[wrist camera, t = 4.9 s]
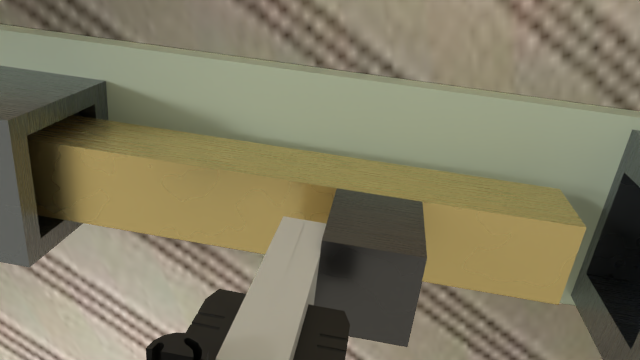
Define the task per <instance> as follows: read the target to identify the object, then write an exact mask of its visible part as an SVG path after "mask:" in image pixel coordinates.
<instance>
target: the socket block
mask: <svg viewBox="0 0 640 360" xmlns="http://www.w3.org/2000/svg"><path fill="white" fill-rule="evenodd" d="M571 297H572V299H573V301H574V303H575V305H576V307H577V309H578V311H579V313H580V315H581V317H582V319H583V321H584V323H585V325H586V327H587V329H588V331H589V333H590V335H591V337H592V339H593V341H594V343H595V345H596V347H597V349H598V351H599V353H600V355H601V357H602V359H603V360H640V131H639V130H632V131H631V134H630V137H629V140H628V142H627V145H626V148H625V150H624V153H623V156H622V158H621V161H620V164H619V166H618V169H617V172H616V175H615V177H614V180H613V183H612V185H611V188H610V191H609V193H608V196H607V199H606V202H605V204H604V207H603V210H602V212H601V215H600V218H599V220H598V223H597V226H596V229H595V231H594V234H593V237H592V239H591V242H590V245H589V247H588V250H587V253H586V256H585V258H584V261H583V264H582V266H581V269H580V272H579V274H578V277H577V280H576V283H575V285H574V288H573V291H572V293H571Z"/></svg>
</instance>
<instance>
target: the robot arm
mask: <svg viewBox="0 0 640 360" xmlns="http://www.w3.org/2000/svg"><path fill="white" fill-rule="evenodd" d="M325 227H326V223H320V222H314V221H308V220H302V219H297V218H291V217H285V216H283V218H282V220H281V222H280V225H279V227H278V229H277V231H276V233H275V235H274V237H273V239H272V241H271V243H270V246H269V248H268V250H267V252H266V254H265V256H264V258H263V260H262V262H261V264H260V267H259V269H258V271H257V273H256V275H255V277H254V279H253V281H252V283H251V285H250V288H249V290H248V292H247V294H243V293H238V292H233V291H227V290H222V289H219V290H218V291H216V292H215V293H213V294H212V295H211V296H209V297H208V298H206V299H205V301H204V303H203V305H202V306H201V308H200V310H199V311H198V314H197V315H196V316H195V318H194V320H193V321H192V325H190V327H189V328H188V330H187V332H186V333H172V334H167V335H164V336H162V337H160V338H158V339H156V340H154V341H153V342H152V343H151V344H150V345H149V346H148V347H147V348H146V358H147V360H345V356H346V349H347V342H348V336H349V329H350V323H349V321H348V318H347V316H346V314H345V311H342V310H336V309H331V308H325V307H320V306H315V305H314V299H315V291H316V283H317V275H318V268H319V260H320V252H321V251H320V250H321V242H322V238H323V234H324V231H325Z"/></svg>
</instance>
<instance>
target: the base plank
mask: <svg viewBox="0 0 640 360" xmlns="http://www.w3.org/2000/svg"><path fill="white" fill-rule="evenodd" d="M0 66H7V67H14V68H21V69H28V70H35V71H42V72H49V73H56V74H62V75H69V76H76V77H83V78H90V79H97V80H104V81H106V90H107V105H108V120H109V121H115V122H122V123H128V124H135V125H142V126H148V127H155V128H161V129H168V130H175V131H181V132H188V133H194V134H201V135H207V136H214V137H221V138H227V139H234V140H240V141H247V142H254V143H260V144H267V145H273V146H280V147H286V148H293V149H300V150H306V151H313V152H319V153H326V154H333V155H339V156H346V157H352V158H359V159H366V160H372V161H379V162H385V163H392V164H398V165H405V166H412V167H418V168H425V169H431V170H438V171H445V172H451V173H458V174H464V175H471V176H477V177H484V178H491V179H497V180H504V181H510V182H517V183H524V184H530V185H537V186H543V187H550V188H557V189H560V190H561V191H562V193H563V194H564V196H565V197H566V198H567V200H568V201H569V203H570V204H571V206H572V207H573V209H574V210H575V211H576V213H577V214H578V216H579V217H580V219H581V220H582V222H583V223H584V225H585V226H586V227H587V228H586V231H585V234H584V236H583V239H582V242H581V245H580V247H579V250H578V253H577V256H576V258H575V261H574V264H573V267H572V269H571V272H570V275H569V278H568V281H567V283H566V286H565V289H564V292H563V294H562V297H561V300H560V303H563V304H569V305H574V306H576V305H575V303H574V301H573V299H572V297H571V293H572V291H573V288H574V285H575V283H576V280H577V277H578V274H579V272H580V269H581V266H582V264H583V261H584V258H585V256H586V253H587V250H588V247H589V245H590V242H591V239H592V237H593V234H594V231H595V229H596V226H597V223H598V220H599V218H600V215H601V212H602V210H603V207H604V204H605V202H606V199H607V196H608V193H609V191H610V188H611V185H612V183H613V180H614V177H615V175H616V172H617V169H618V166H619V164H620V161H621V158H622V156H623V153H624V150H625V148H626V145H627V142H628V140H629V137H630V134H631V131H632V130H639V131H640V111H634V110H627V109H619V108H612V107H605V106H597V105H590V104H583V103H575V102H568V101H561V100H553V99H546V98H539V97H531V96H524V95H517V94H509V93H502V92H495V91H487V90H480V89H473V88H465V87H458V86H451V85H443V84H436V83H429V82H421V81H414V80H407V79H399V78H392V77H385V76H377V75H370V74H363V73H355V72H348V71H341V70H333V69H326V68H319V67H311V66H304V65H297V64H289V63H282V62H275V61H267V60H260V59H253V58H245V57H238V56H231V55H223V54H216V53H209V52H201V51H194V50H187V49H179V48H172V47H165V46H157V45H150V44H143V43H135V42H128V41H121V40H113V39H106V38H99V37H91V36H84V35H77V34H69V33H62V32H55V31H47V30H40V29H33V28H25V27H18V26H11V25H3V24H0Z"/></svg>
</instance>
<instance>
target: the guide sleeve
mask: <svg viewBox="0 0 640 360" xmlns="http://www.w3.org/2000/svg"><path fill="white" fill-rule="evenodd" d="M70 115H76V116H82V117H89V118H96V119H102V120H108V105H107V90H106V81H104V80H97V79H90V78H83V77H76V76H69V75H62V74H56V73H49V72H42V71H35V70H28V69H21V68H14V67H7V66H0V262H4V263H9V264H15V265H20V266H26V267H30V266H32V265H33V264H34V263H35V262H36V261H38V260H39V259H40V258H41V257H43V256H44V255H45V254H46V253H47V252H49V251H50V250H51V249H52V248H54V247H55V246H56V245H57V244H58V243H60V242H61V241H62V240H63V239H64V238H66V237H67V236H68V235H69V234H71V233H72V232H73V231H74V230H75V229H77V228H78V227H79V226H80V225H81V224H83V223H80V222H74V221H69V220H63V219H57V218H51V217H45V216H40V215H37V208H36V200H35V193H34V185H33V178H32V170H31V163H30V156H29V148H28V141H27V135H30V134H32V133H34V132H36V131H38V130H40V129H42V128H45V127H47V126H49V125H51V124H53V123H55V122H57V121H60V120H62V119H64V118H66V117H68V116H70Z"/></svg>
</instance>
